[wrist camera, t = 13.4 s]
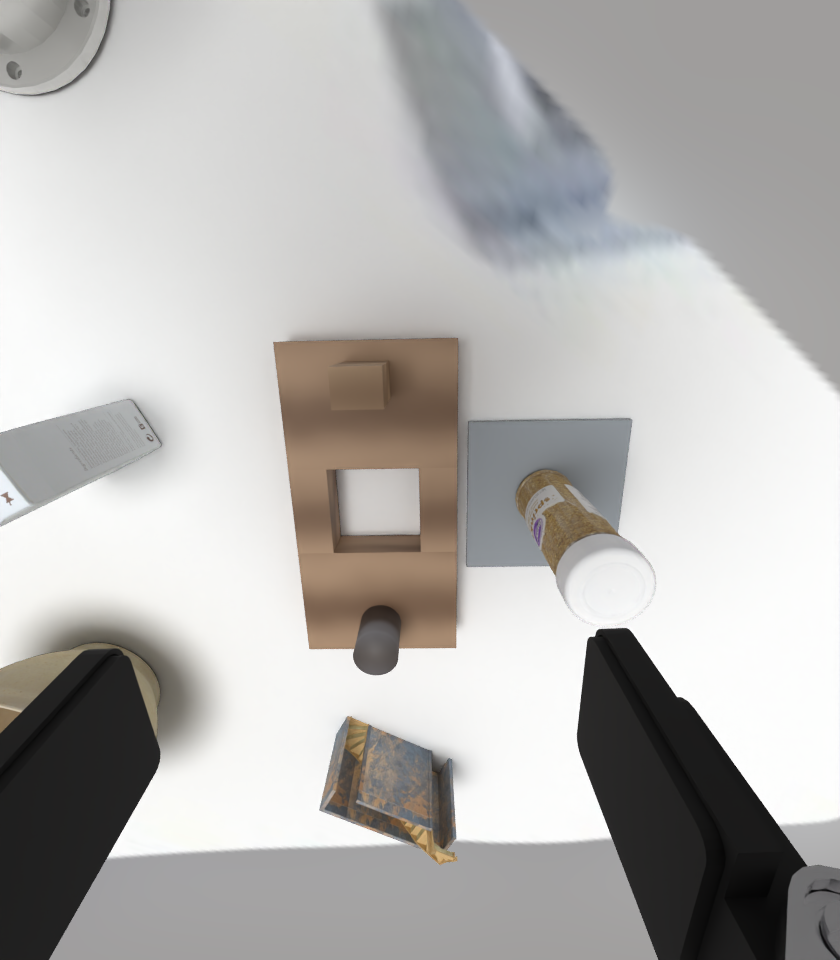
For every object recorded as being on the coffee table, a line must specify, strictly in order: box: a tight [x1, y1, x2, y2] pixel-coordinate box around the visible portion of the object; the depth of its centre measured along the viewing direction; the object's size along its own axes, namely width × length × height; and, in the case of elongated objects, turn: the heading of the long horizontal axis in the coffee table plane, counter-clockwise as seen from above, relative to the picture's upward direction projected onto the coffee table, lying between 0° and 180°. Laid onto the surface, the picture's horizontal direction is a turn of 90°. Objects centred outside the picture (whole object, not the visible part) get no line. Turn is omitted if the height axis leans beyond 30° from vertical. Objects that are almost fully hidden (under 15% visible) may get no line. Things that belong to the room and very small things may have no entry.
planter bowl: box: [0, 643, 160, 739], centre depth 36 cm, size 16×16×11 cm
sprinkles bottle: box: [515, 470, 656, 627], centre depth 28 cm, size 5×5×14 cm
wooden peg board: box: [273, 338, 458, 675], centre depth 32 cm, size 24×12×8 cm, turn 1°
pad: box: [466, 419, 632, 567], centre depth 35 cm, size 12×12×1 cm
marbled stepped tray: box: [320, 716, 457, 865], centre depth 39 cm, size 11×3×10 cm, turn 62°
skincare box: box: [0, 399, 161, 527], centre depth 29 cm, size 6×4×12 cm
